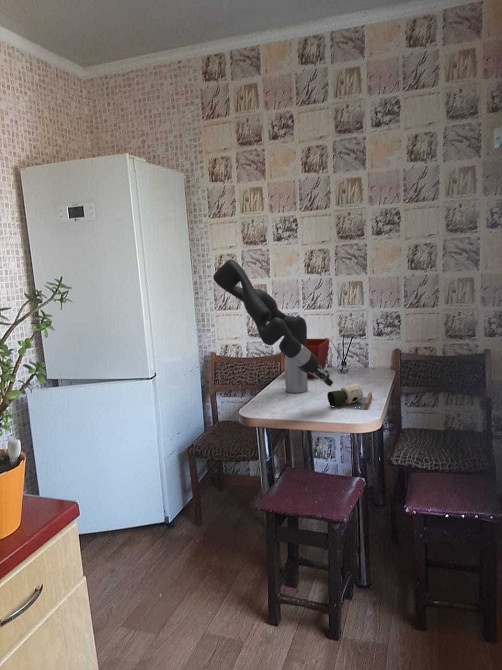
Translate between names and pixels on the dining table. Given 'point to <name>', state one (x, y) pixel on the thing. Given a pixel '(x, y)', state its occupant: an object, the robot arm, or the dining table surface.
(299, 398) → the dining table surface
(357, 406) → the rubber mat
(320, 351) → the plant pot
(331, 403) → the character mug
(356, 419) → the dining table surface
